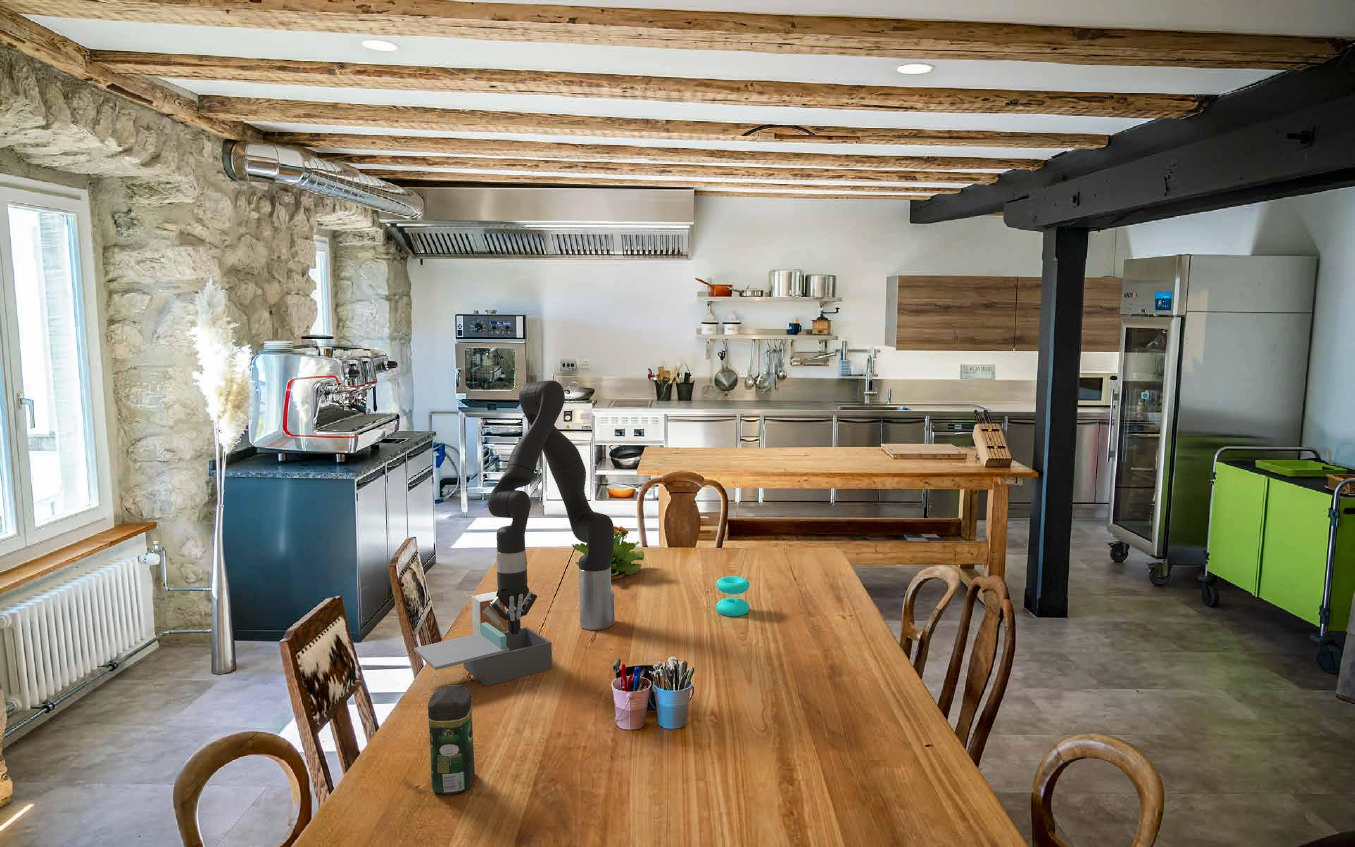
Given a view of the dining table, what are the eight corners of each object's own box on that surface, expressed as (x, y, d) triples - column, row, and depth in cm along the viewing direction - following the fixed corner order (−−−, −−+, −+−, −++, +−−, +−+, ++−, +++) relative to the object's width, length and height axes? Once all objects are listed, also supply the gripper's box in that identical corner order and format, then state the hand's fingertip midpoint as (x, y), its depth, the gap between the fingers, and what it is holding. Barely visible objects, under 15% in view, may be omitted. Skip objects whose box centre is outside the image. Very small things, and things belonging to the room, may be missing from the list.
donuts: (753, 576, 267) (743, 586, 258) (753, 608, 268) (743, 619, 259) (722, 573, 271) (711, 582, 262) (722, 604, 272) (711, 615, 263)
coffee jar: (436, 770, 174) (433, 681, 172) (477, 769, 175) (474, 679, 172) (427, 797, 164) (423, 703, 162) (470, 795, 165) (466, 701, 163)
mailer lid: (485, 634, 228) (485, 620, 227) (509, 651, 216) (509, 636, 216) (414, 650, 217) (413, 636, 217) (435, 670, 205) (434, 654, 205)
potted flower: (640, 588, 289) (640, 536, 287) (569, 588, 289) (567, 536, 287) (644, 566, 314) (644, 518, 312) (578, 566, 314) (577, 518, 312)
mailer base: (528, 651, 235) (527, 626, 234) (552, 668, 224) (551, 642, 223) (463, 667, 225) (462, 641, 224) (485, 686, 214) (484, 658, 213)
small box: (481, 648, 238) (479, 601, 236) (472, 640, 243) (470, 595, 242) (509, 641, 242) (507, 596, 241) (500, 634, 248) (498, 590, 246)
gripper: (529, 559, 229) (531, 623, 231) (481, 568, 222) (484, 634, 224) (542, 566, 223) (544, 631, 225) (493, 575, 215) (496, 643, 218)
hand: (514, 633), depth 225 cm, fingers closed
